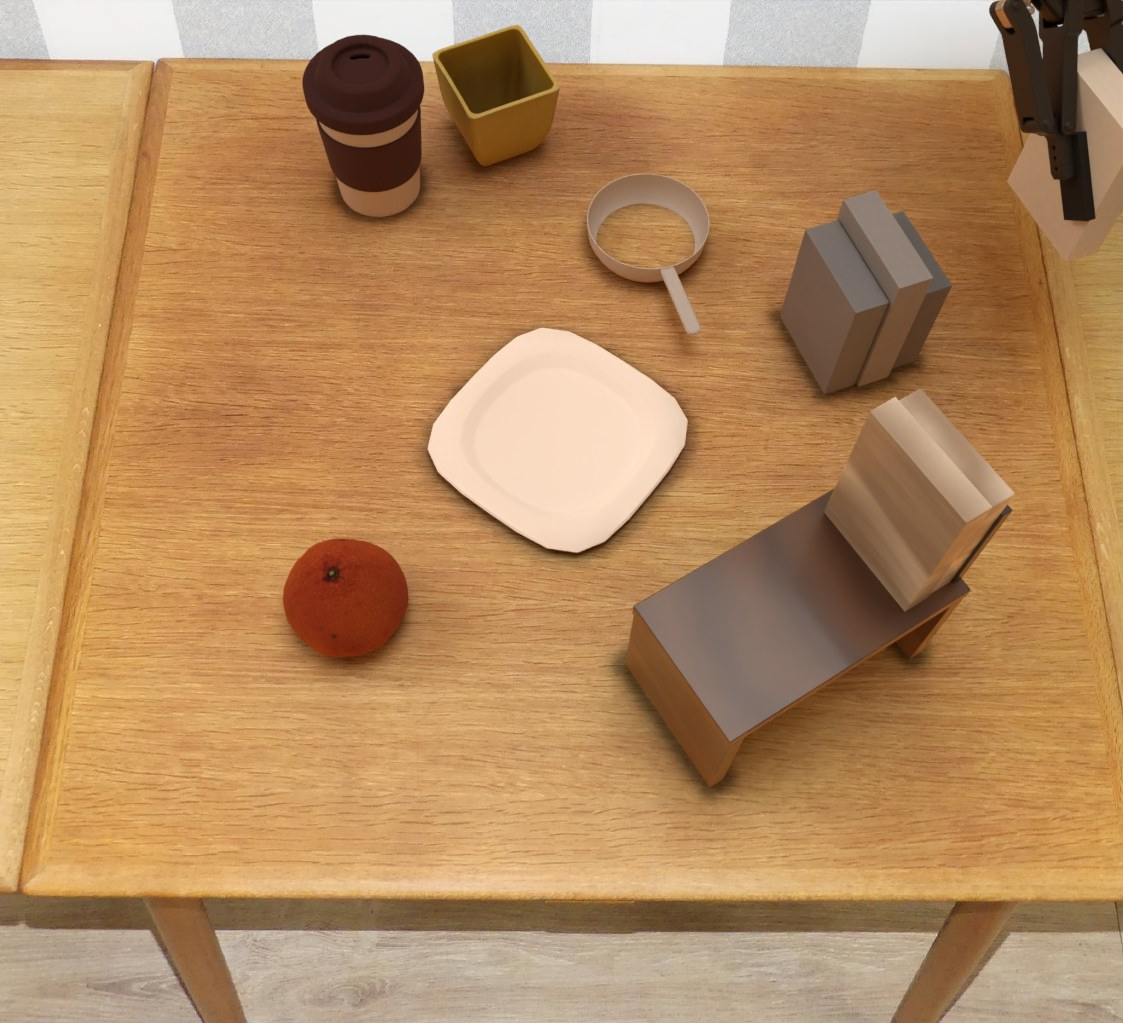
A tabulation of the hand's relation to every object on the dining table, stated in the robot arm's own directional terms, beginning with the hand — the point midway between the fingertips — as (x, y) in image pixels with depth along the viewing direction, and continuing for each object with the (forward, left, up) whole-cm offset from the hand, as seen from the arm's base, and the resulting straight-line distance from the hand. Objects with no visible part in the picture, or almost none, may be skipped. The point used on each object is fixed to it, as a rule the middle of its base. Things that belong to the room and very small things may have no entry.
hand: (1100, 212), depth 94 cm
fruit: (+54, +33, -15) cm, 65 cm away
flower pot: (+49, -16, -15) cm, 53 cm away
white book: (+2, -3, -5) cm, 6 cm away
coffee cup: (+59, -9, -15) cm, 61 cm away
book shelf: (+22, +33, -15) cm, 43 cm away
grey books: (+16, +4, -15) cm, 22 cm away
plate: (+40, +16, -15) cm, 46 cm away
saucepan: (+33, -2, -15) cm, 36 cm away
